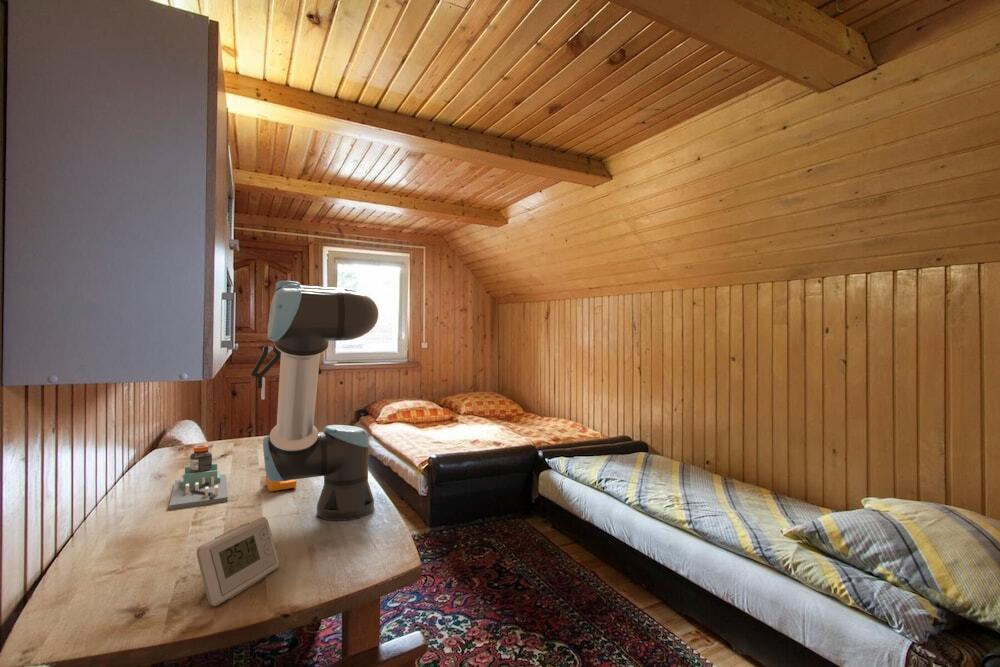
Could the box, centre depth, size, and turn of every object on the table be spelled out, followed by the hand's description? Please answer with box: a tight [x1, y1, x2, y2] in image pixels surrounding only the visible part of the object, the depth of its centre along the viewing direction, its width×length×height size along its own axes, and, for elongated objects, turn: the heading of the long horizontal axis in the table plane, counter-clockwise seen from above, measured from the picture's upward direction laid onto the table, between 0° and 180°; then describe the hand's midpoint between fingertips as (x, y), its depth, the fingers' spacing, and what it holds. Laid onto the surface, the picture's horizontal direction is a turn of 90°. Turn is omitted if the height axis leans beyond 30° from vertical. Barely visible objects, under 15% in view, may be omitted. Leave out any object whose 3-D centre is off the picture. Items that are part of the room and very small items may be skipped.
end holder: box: [180, 463, 221, 488], centre depth 153 cm, size 10×11×4 cm
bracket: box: [265, 474, 298, 492], centre depth 152 cm, size 11×7×12 cm
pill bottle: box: [189, 444, 213, 473], centre depth 152 cm, size 6×6×11 cm
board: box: [168, 473, 229, 511], centre depth 146 cm, size 26×14×4 cm, turn 31°
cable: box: [191, 482, 213, 500], centre depth 142 cm, size 16×6×1 cm, turn 31°
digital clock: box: [196, 516, 280, 607], centre depth 92 cm, size 16×9×11 cm, turn 151°
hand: (286, 397), depth 150 cm, fingers open, 13 cm apart
